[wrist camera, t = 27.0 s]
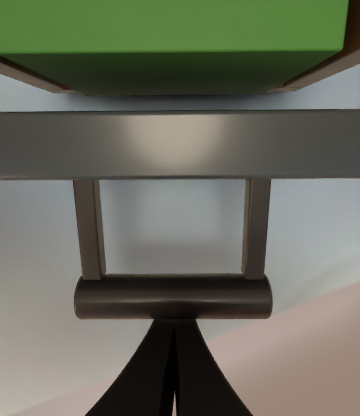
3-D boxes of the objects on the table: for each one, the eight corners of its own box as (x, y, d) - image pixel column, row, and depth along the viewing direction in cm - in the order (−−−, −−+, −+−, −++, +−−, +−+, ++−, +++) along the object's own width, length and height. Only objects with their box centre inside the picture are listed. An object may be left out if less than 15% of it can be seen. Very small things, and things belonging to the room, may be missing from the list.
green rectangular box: (85, 95, 10) (-6, 53, 5) (75, -28, 9) (-49, -223, 4) (264, 94, 10) (343, 50, 5) (272, -30, 9) (379, -230, 4)
